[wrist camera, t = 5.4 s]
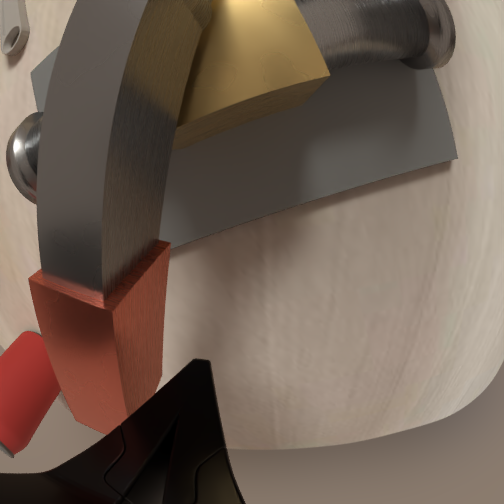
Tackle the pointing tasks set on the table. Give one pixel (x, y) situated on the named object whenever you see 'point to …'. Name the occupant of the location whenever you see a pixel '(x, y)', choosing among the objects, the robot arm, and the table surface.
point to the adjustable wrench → (13, 26)
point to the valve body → (276, 62)
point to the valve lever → (110, 199)
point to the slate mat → (302, 148)
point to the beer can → (24, 391)
